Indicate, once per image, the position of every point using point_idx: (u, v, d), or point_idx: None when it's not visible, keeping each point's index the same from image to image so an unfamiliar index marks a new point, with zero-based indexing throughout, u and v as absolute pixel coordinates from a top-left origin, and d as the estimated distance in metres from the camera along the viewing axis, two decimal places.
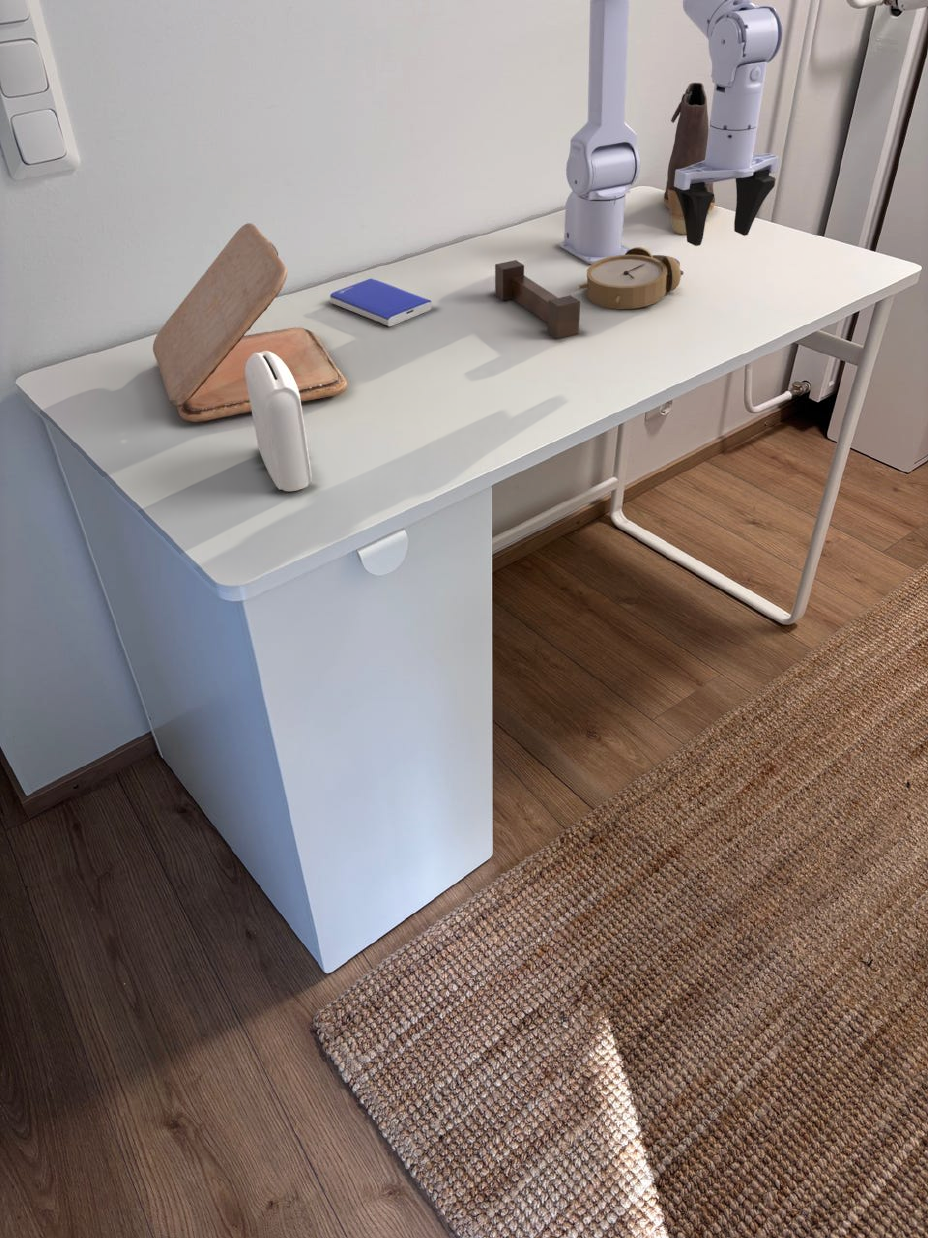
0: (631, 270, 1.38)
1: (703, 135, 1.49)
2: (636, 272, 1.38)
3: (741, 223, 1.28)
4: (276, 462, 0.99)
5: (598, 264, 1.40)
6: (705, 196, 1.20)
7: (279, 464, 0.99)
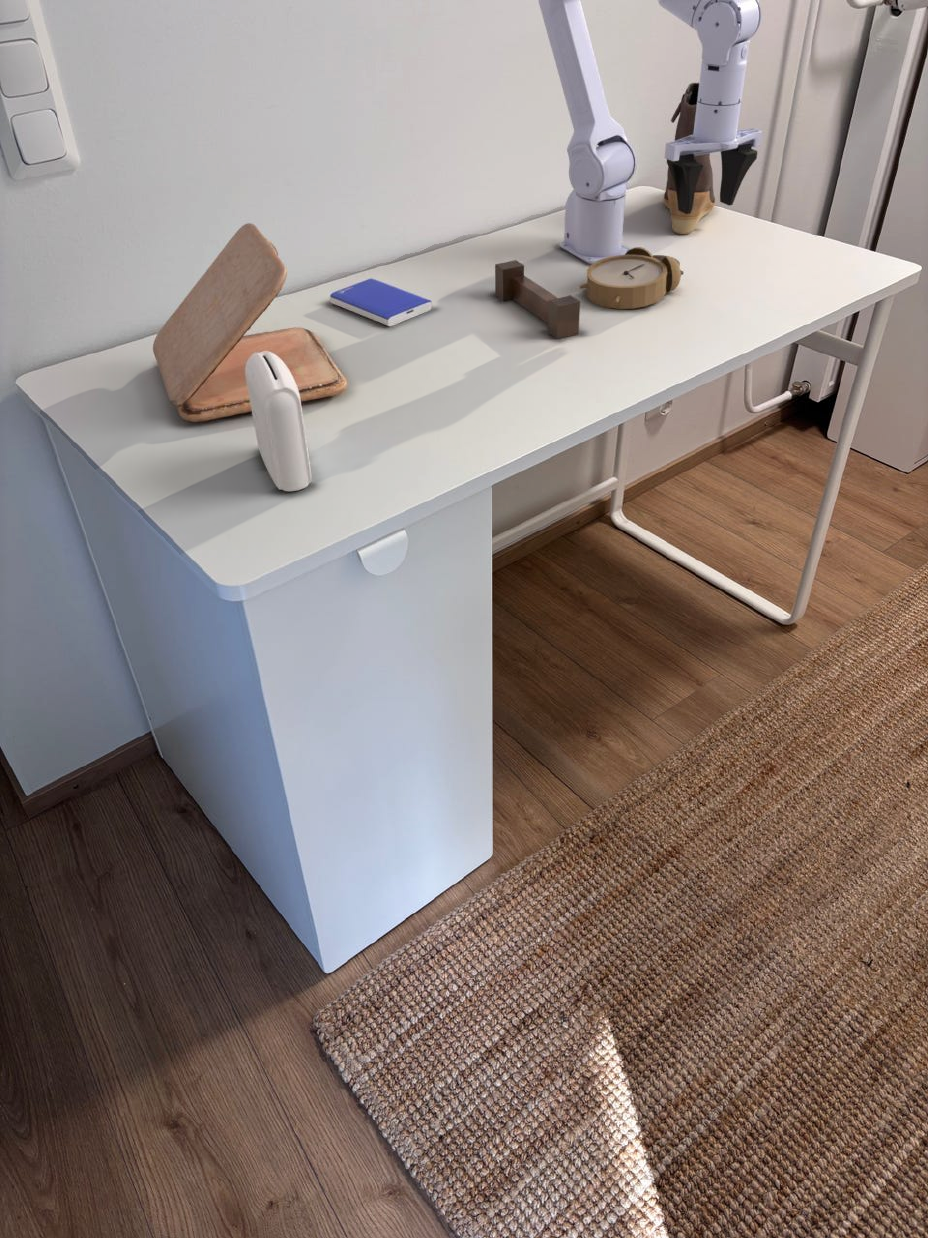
0: (631, 270, 1.38)
1: None
2: (636, 272, 1.38)
3: (726, 194, 1.38)
4: (276, 462, 0.99)
5: (598, 264, 1.40)
6: (694, 166, 1.30)
7: (279, 464, 0.99)
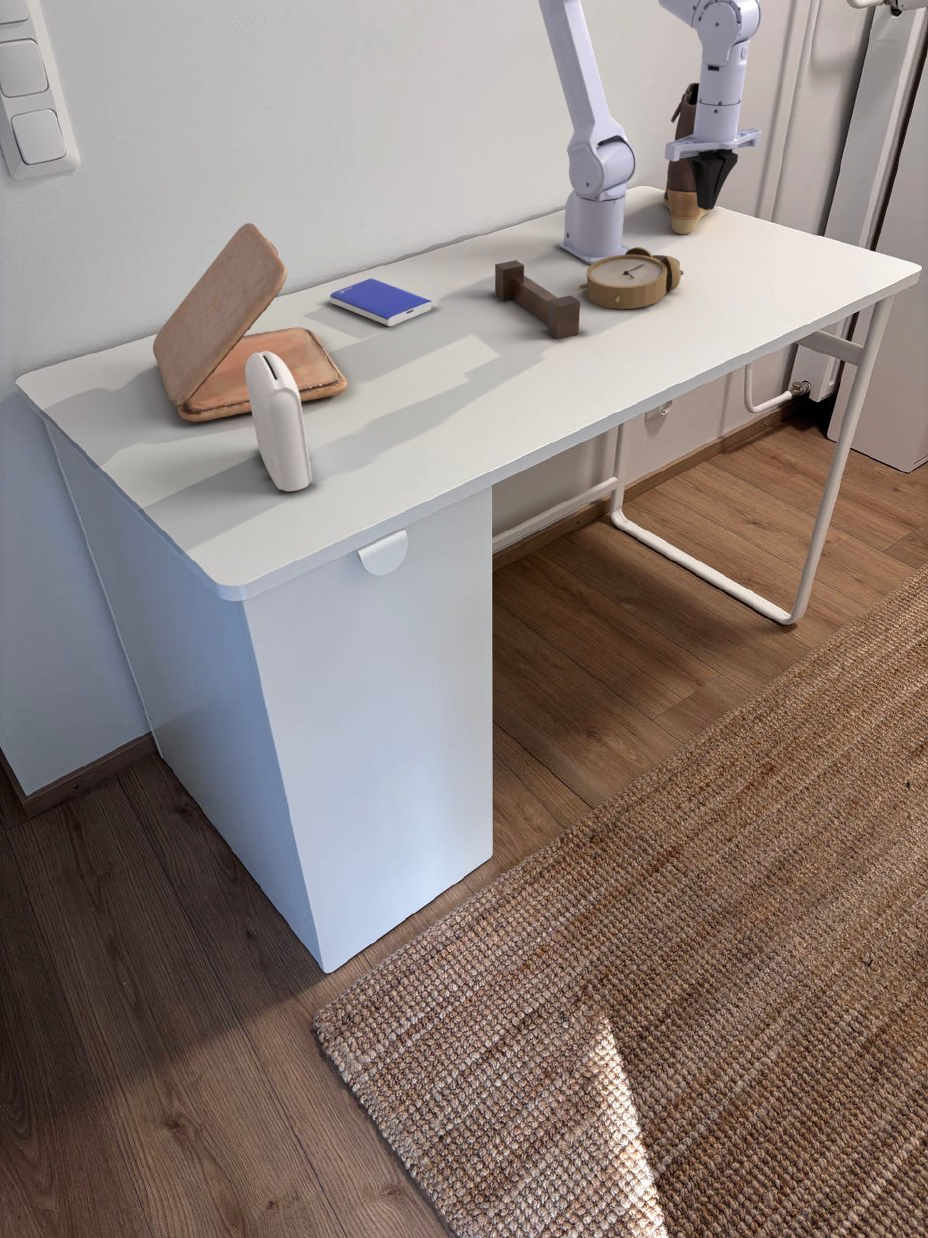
0: (631, 270, 1.38)
1: None
2: (636, 272, 1.38)
3: None
4: (276, 462, 0.99)
5: (598, 264, 1.40)
6: (715, 163, 1.31)
7: (279, 464, 0.99)
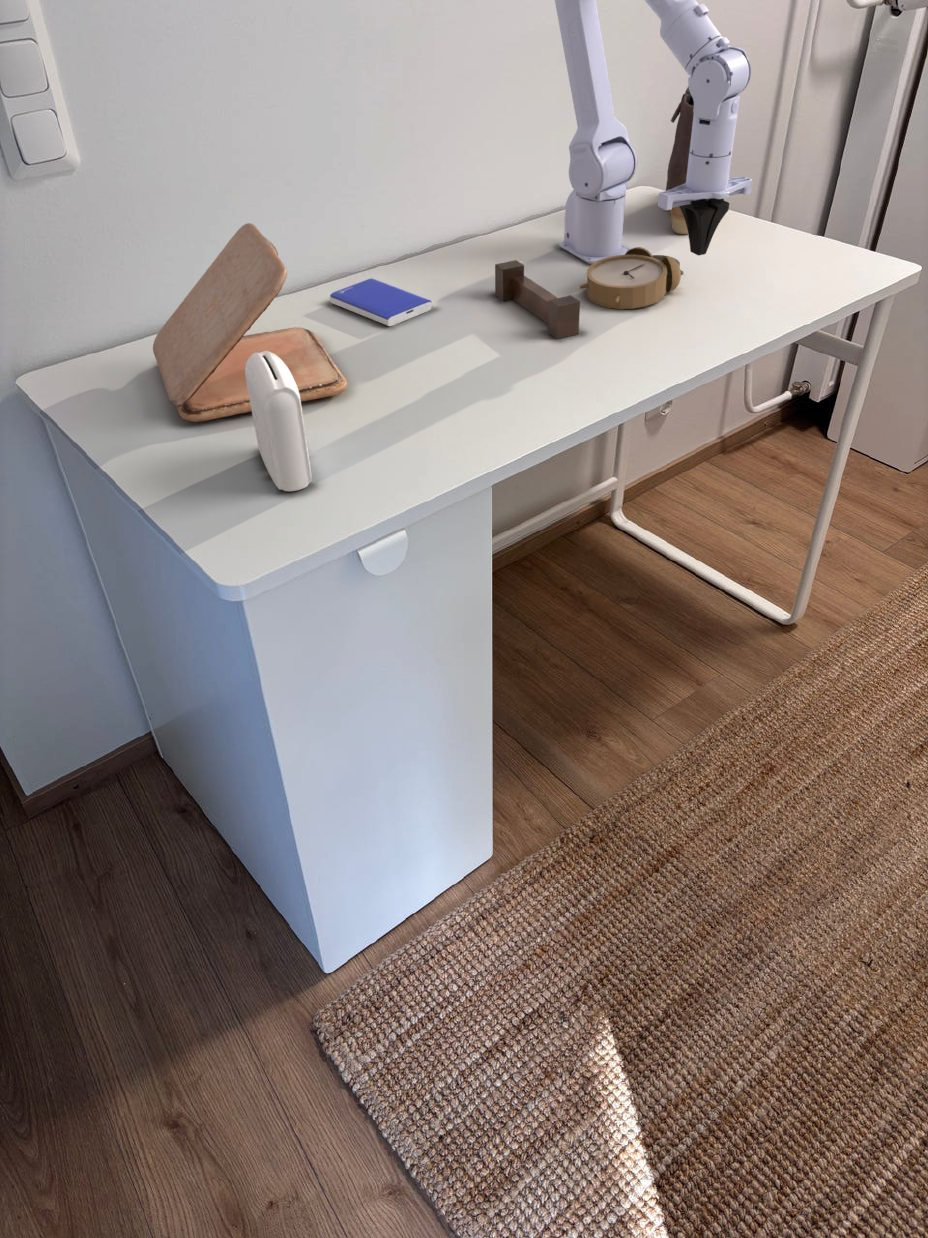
0: (631, 270, 1.38)
1: None
2: (636, 272, 1.38)
3: None
4: (276, 462, 0.99)
5: (598, 264, 1.40)
6: (706, 211, 1.35)
7: (279, 464, 0.99)
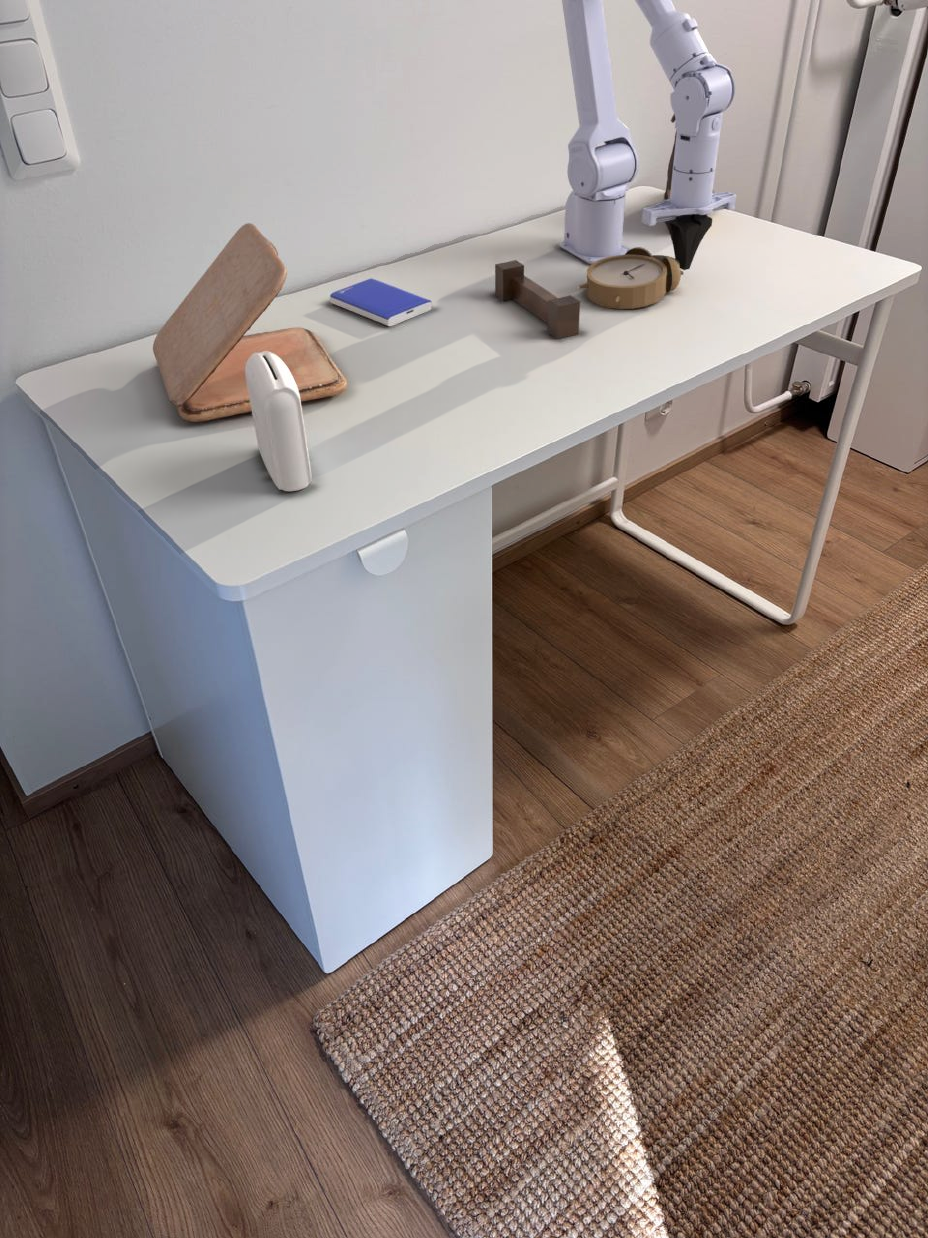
0: (631, 270, 1.38)
1: None
2: (636, 272, 1.38)
3: None
4: (276, 462, 0.99)
5: (598, 264, 1.40)
6: (691, 227, 1.35)
7: (279, 464, 0.99)
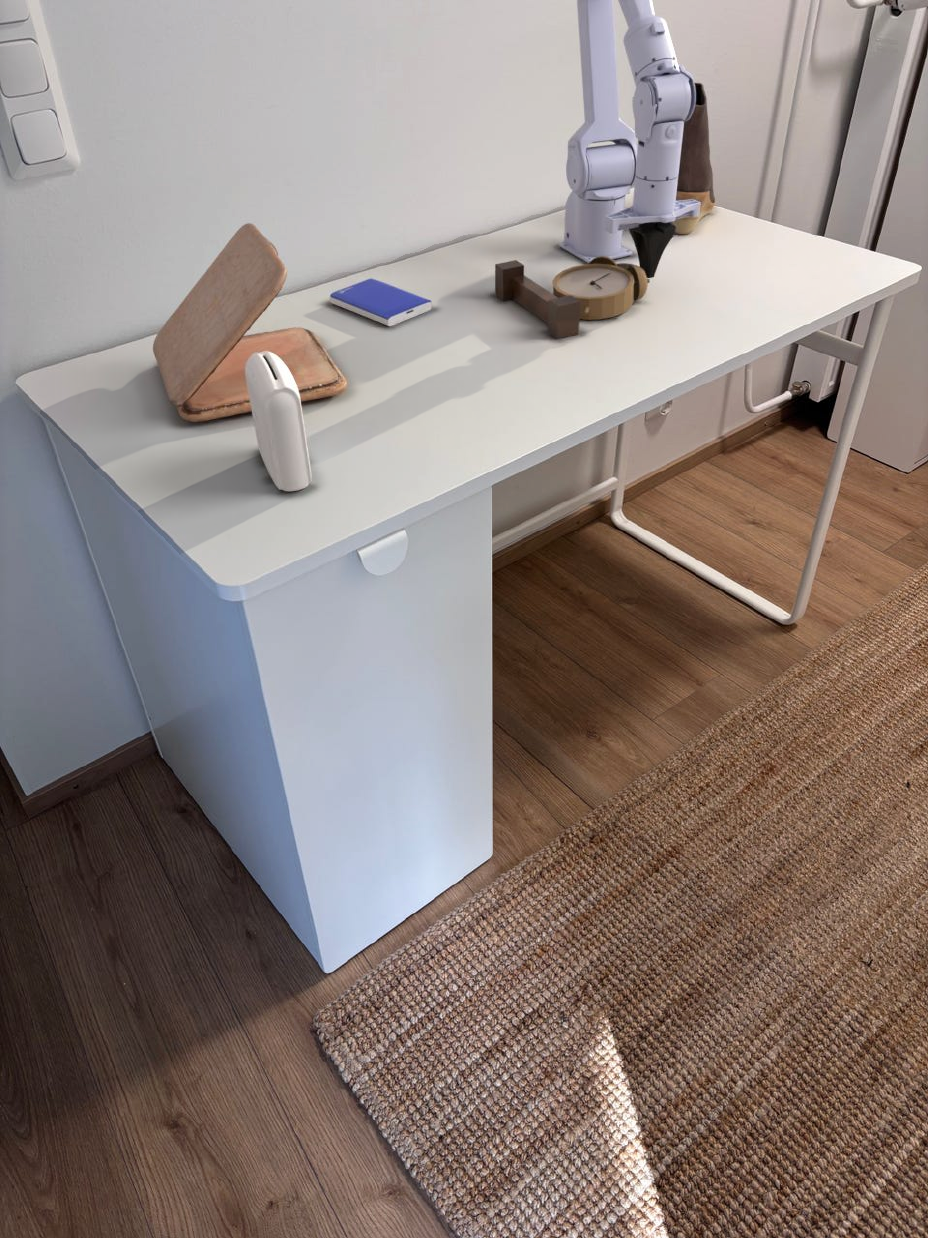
0: (597, 280, 1.36)
1: (703, 135, 1.49)
2: (602, 281, 1.35)
3: None
4: (276, 462, 0.99)
5: (563, 274, 1.38)
6: (654, 235, 1.33)
7: (279, 464, 0.99)
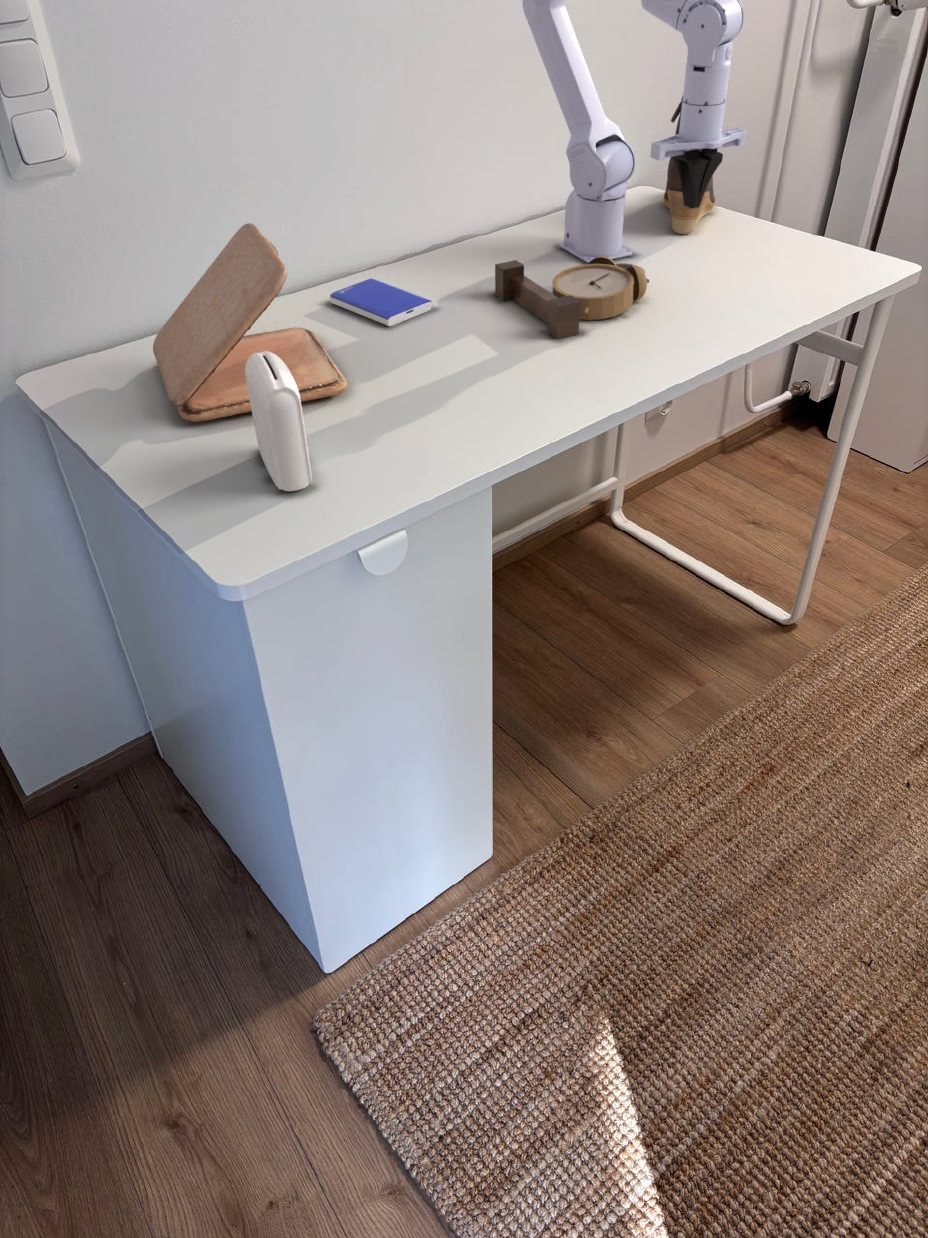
0: (597, 280, 1.36)
1: None
2: (602, 281, 1.35)
3: None
4: (276, 462, 0.99)
5: (562, 275, 1.38)
6: (700, 162, 1.33)
7: (279, 464, 0.99)
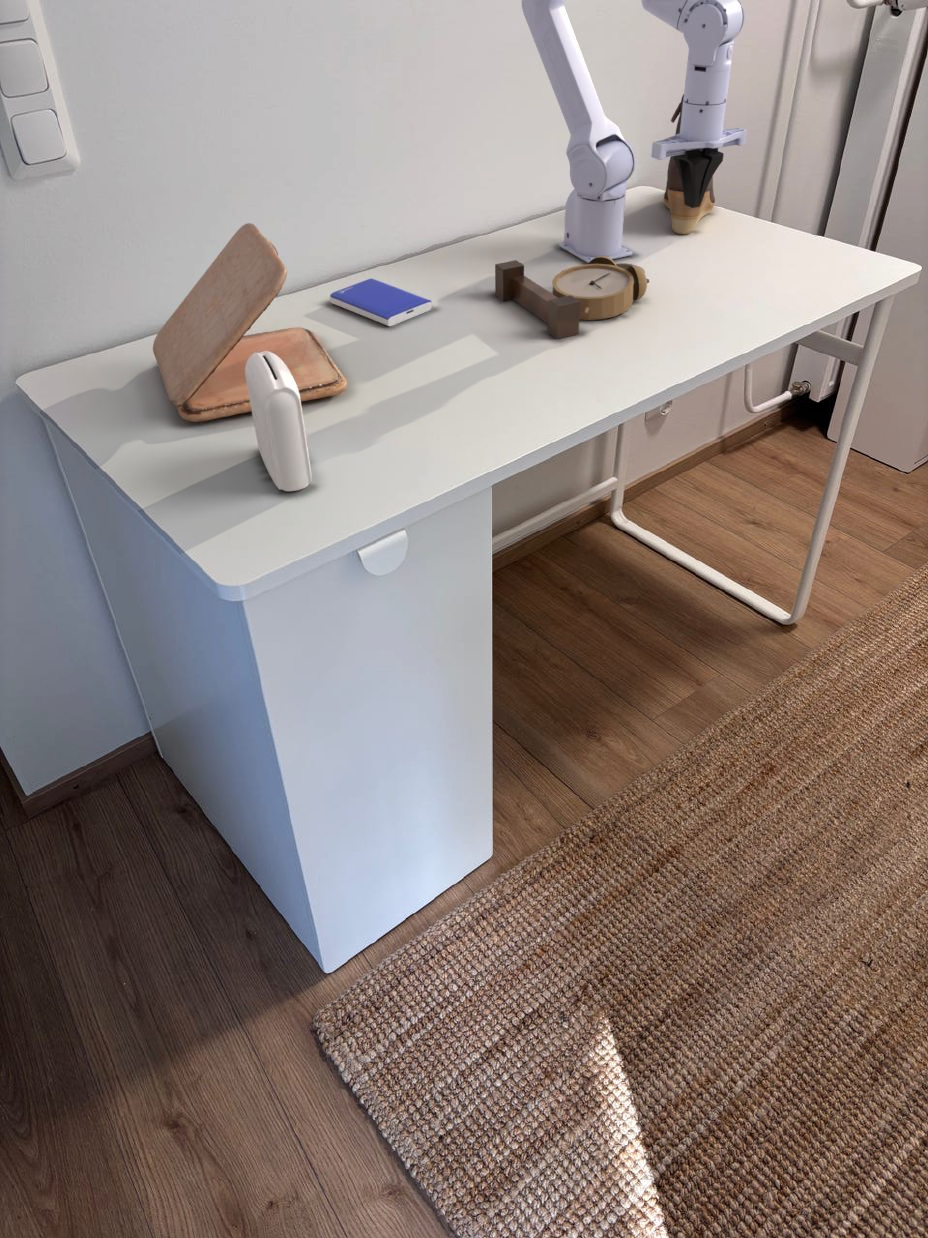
0: (597, 280, 1.36)
1: None
2: (602, 281, 1.35)
3: None
4: (276, 462, 0.99)
5: (562, 275, 1.38)
6: (700, 161, 1.34)
7: (279, 464, 0.99)
